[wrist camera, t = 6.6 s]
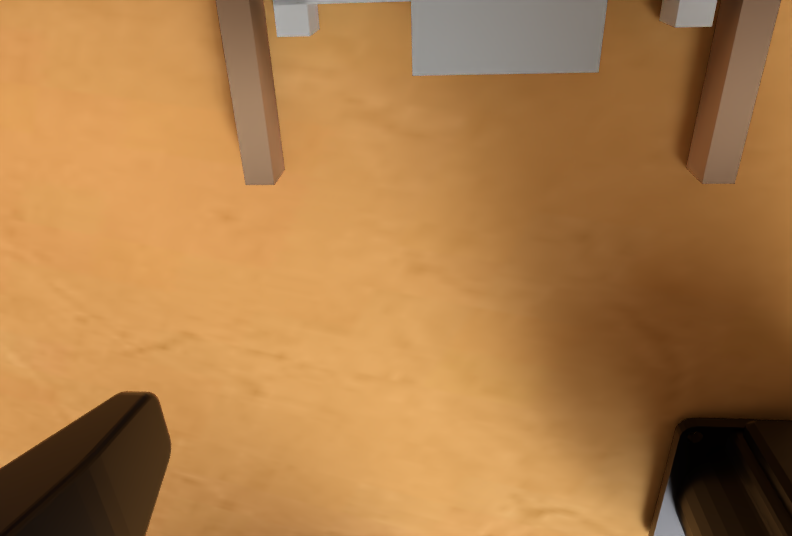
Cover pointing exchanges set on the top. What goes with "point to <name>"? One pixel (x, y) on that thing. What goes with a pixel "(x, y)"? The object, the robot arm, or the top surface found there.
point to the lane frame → (714, 129)
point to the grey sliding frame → (500, 32)
